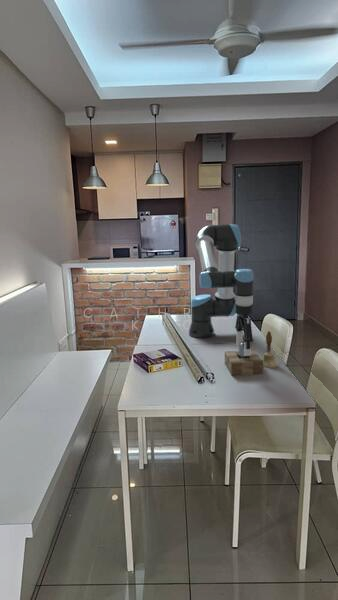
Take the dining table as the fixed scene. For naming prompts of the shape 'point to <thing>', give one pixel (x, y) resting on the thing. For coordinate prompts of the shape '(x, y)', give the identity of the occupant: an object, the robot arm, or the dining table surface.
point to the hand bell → (269, 354)
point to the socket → (243, 363)
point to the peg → (241, 350)
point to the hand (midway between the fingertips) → (243, 350)
